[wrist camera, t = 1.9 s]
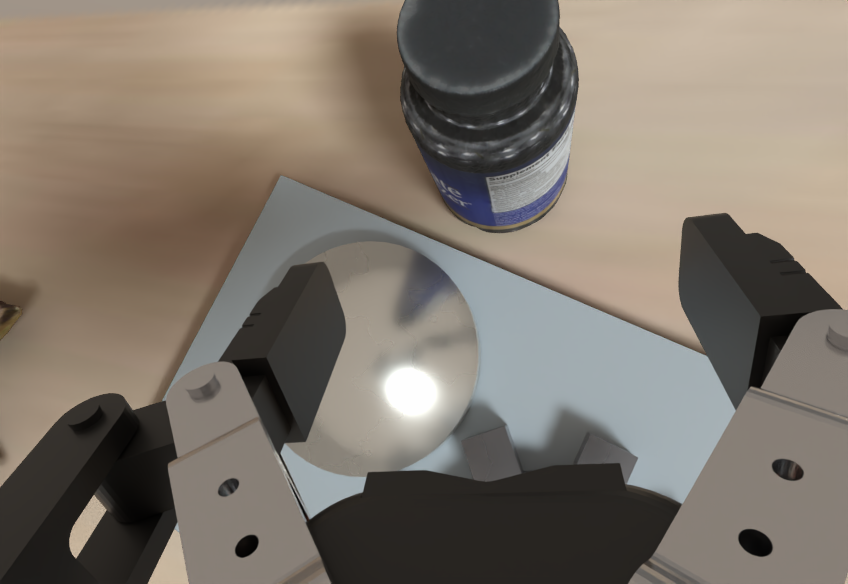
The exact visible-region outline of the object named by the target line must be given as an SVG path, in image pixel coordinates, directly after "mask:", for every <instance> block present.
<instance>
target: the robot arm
mask: <svg viewBox="0 0 848 584" xmlns="http://www.w3.org/2000/svg"><path fill="white" fill-rule="evenodd" d="M679 296H680V301H681V305H682V308H683V310H684V312H685V314H686V316H687V318H688V320H689V322H690V324H691V325H692V327H693V329H694V331H695V333H696V335H697V337H698V339H699V341H700V343H701V345H702V347H703V349H704V350H705V352H706V354H707V356H708V358H709V360H710V362H711V364H712V366H713V368H714V370H715V372H716V374H717V376H718V377H719V379H720V381H721V383H722V385H723V387H724V389H725V391H726V393H727V395H728V397H729V399H730V401H731V402H732V404H733V406H734V408H735V410H736V411H735V413H734V415H733V417H732V418H731V420H730V422H729V424H728V425H727V427H726V429H725V431H724V432H723V434H722V436H721V438H720V439H719V441H718V443H717V445H716V446H715V448H714V450H713V452H712V453H711V455H710V457H709V459H708V460H707V462H706V464H705V466H704V467H703V469H702V471H701V473H700V474H699V476H698V478H697V480H696V481H695V483H694V485H693V487H692V488H691V490H690V492H689V494H688V495H687V497H686V499H685V501H684V502H683V504H681V503H680V502H678V501H676V500H674V499H672V498H670V497H667V496H665V495H662V494H660V493H657V492H655V491H652V490H648V489H645V488H642V487H638V486H634V485H629V484H625V482H624V478H623V473H622V469H621V465H620V463H605V464H577V465H553V466H549V467H545V468H541V469H537V470H533V471H530V472H526V473H522V474H518V475H514V476H510V477H506V478H503V479H499V480H495V481H487V482H485V481H478V480H473V479H468V478H463V477H458V476H453V475H448V474H443V473H438V472H433V471H428V470H411V471H384V472H368V473H367V477H366V481H365V485H364V490H363V492H361V493H358V494H355V495H352V496H350V497H347V498H345V499H342V500H340V501H338V502H336V503H334V504H332V505H330V506H329V507H327V508H326V509H324V510H322V511H321V512H319V513H318V514H316V515H315V516H314V517H312V518H311V516H310V514H309V512H308V510H307V508H306V506H305V504H304V501H303V499H302V497H301V495H300V493H299V491H298V489H297V486H296V484H295V482H294V480H293V478H292V476H291V473H290V471H289V469H288V467H287V465H286V463H285V461H284V459H283V457H282V455H281V451H282V448H283V446H284V444H285V443H298V442H306V440H307V438H308V435H309V432H310V430H311V427H312V425H313V422H314V419H315V417H316V414H317V411H318V409H319V406H320V403H321V401H322V398H323V395H324V393H325V390H326V388H327V385H328V382H329V380H330V377H331V374H332V372H333V369H334V366H335V364H336V361H337V358H338V356H339V353H340V351H341V348H342V345H343V343H344V340H345V336H346V321H345V316H344V312H343V309H342V307H341V304H340V301H339V298H338V295H337V292H336V289H335V286H334V283H333V280H332V277H331V274H330V272H329V269H328V267H327V265H326V264H325V263H324V262H315V263H307V264H299V265H293V266H291V267H290V269H289V270H288V272H287V273H286V275H285V276H284V278H283V280H282V281H281V283H280V284H279V286H278V287H274V288H273V289H272V290H270V291H269V292H268V293H267V294H266V295H264V296H263V297H262V298H261V299H259V300H258V302H257V303H256V305H255V306H254V308H253V309H252V311H251V312H250V314H249V315H250V317H247V318H246V320H245V321H244V323H243V324H242V328H240V329H239V330H238V332H237V333H236V335H235V336H234V338H233V339H232V341H231V342H230V344H229V345H228V347H227V348H226V350H225V351H224V353H223V355H222V356H221V358H220V359H219V361H218V362H213V363H209V364H206V365H203V366H200V367H198V368H196V369H194V370H192V371H190V372H189V373H187V374H185V375H184V376H183V377H181V378H180V379H179V380H178V381H177V382H176V383H175V384H174V385H173V386H172V387H171V389H170V390H169V392H168V394H167V397H166V400H165V401H162V402H159V403H156V404H152V405H149V406H146V407H143V408H139V409H136V410H132V408H131V407H130V406H129V404H128V403H127V401H126V400H125V398H124V397H123V396H122V395H120V394H115V393H109V394H103V395H99V396H96V397H93V398H90V399H88V400H86V401H84V402H82V403H80V404H78V405H77V406H75V407H74V408H72V409H71V410H69V411H68V412H67V413H65V414H64V415H63V416H62V417H61V418H60V419H59V420H58V421H57V422H56V423H55V424H54V425H53V426H52V428H51V429H50V430H49V431H48V432H47V433H46V435H45V436H44V437H43V438H42V439H41V440H40V442H39V443H38V444H37V445H36V446H35V447H34V449H33V450H32V451H31V452H30V453H29V454H28V456H27V457H26V458H25V459H24V460H23V461H22V463H21V464H20V465H19V466H18V467H17V469H16V470H15V471H14V472H13V473H12V474H11V476H10V477H9V478H8V479H7V480H6V481H5V483H4V484H3V485H2V486H1V487H0V584H148V582H149V579H150V577H151V575H152V573H153V571H154V569H155V567H156V565H157V563H158V561H159V559H160V557H161V555H162V553H163V551H164V549H165V547H166V545H167V543H168V541H169V539H170V537H171V535H172V533H173V531H174V528H175V526H176V524H177V522H178V527H179V532H180V537H181V543H182V548H183V554H184V559H185V565H186V570H187V575H188V581H189V584H844V583H845V580H846V576H847V573H848V310H843V309H842V308H841V307H840V305H839V304H838V303H837V302H836V301H835V300H834V299H833V298H832V297H831V296H830V295H829V294H828V293H827V292H826V291H825V290H824V289H823V288H822V287H821V286H820V285H819V284H818V283H817V282H816V280H815V279H814V278H813V277H812V276H811V275H810V274H809V273H806V272H805V269H804V268H803V267H802V266H801V265H800V264H799V263H798V262H797V261H794V258H793V256H792V255H791V254H790V253H789V252H788V251H787V250H786V249H785V248H784V247H783V246H782V245H781V244H780V243H778V242H775V241H773V240H771V239H769V238H767V237H765V236H763V235H761V234H759V233H752V234H745V233H744V232H743V230H742V229H741V228H740V227H739V226H738V225H737V224H736V222H735V221H734V220H733V219H732V218H731V217H730V216H729V215H728V214H727V213H720V214H712V215H704V216H696V217H688V218H686V219H685V220H684V223H683V228H682V240H681V254H680V268H679ZM93 495H95V496H96V498H97V499H98V500H99V501H100V502H101V503H102V505H103V506H104V507H105V508H106V509H107V511H106V512H105V514H104V515H103V517H102V519H101V520H100V522H99V523H98V525H97V527H96V528H95V530H94V531H93V533H92V535H91V536H90V538H89V539H88V541H87V542H86V544H85V546H84V547H83V549H82V550H81V552H80V554H79V555H78V557H77V558H75V557H74V556H73V555H72V553H71V551H70V547H69V538H70V533H71V530H72V527H73V525H74V524H75V522H76V520H77V519H78V517H79V516H80V514H81V513H82V511H83V510H84V509H85V507H86V506H87V504H88V503H89V501H90V500H91V498H92V497H93Z"/></svg>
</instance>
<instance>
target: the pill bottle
mask: <svg viewBox="0 0 848 584" xmlns="http://www.w3.org/2000/svg"><path fill="white" fill-rule="evenodd" d="M559 19H560V12H559V3H558V0H405V2H404V4H403V7H402V9H401V11H400V15H399V19H398V25H397V42H398V47H399V52H400V55H401V58H402V61H403V63H404V71H403V73H402V80H401V87H400V89H401V92H400V93H401V96H400V99H401V100H400V101H401V104H402V109H403V113H404V116H405V120H406V123H407V125H408V127H409V130H410V131H411V133H412V136H413V137H414V139H415V142H416V144H417V146H418V148H419V150H420V152H421V154H422V156H423V158H424V160H425V162H426V164H427V167H428V169H429V171H430V173H431V175H432V177H433V179H434V181H435V183H436V185H437V187H438V189H439V191H440V193H441V195H442V197H443V199H444V201H445V203H446V205H447V206H448V208H449V209H450V210H451V212H452V213H453V214H454V215H455V216H456V217H457V218H458V219H459V220H461V221H462V222H464V223H466V224H468V225H471V226H476V227H477V228H479V229H481V230H483V231H486V232H491V233H506V232H513V231H517V230H520V229H522V228H525V227H527V226H529V225H531V224H533V223H535V222H537V221H538V220H540V219H541V218H543V217H544V216H545V215H546V214H547V213H548V212H549V211H550V210H551V209H552V208H553V207H554V205H555V204H556V203H557V201H558V199H559V197H560V195H561V193H562V190H563V188H564V186H565V184H566V180H567V170H568V162H569V155H570V147H571V139H572V131H573V122H574V114H575V106H576V100H577V93H578V81H579V78H578V66H577V60H576V57H575V53H574V50H573V47H572V46H571V44H570V42H569V40H568V39H567V36H566V34H565V33H564V32H563V30H562V29H561V28H560V27H559Z"/></svg>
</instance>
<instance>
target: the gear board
mask: <svg viewBox="0 0 848 584" xmlns="http://www.w3.org/2000/svg"><path fill="white" fill-rule="evenodd" d="M366 241H376V242H387V243H392V244H397V245H401V246H403V247H406V248H409V249H412V250H414V251H416V252H418V253H420V254H422V255H423V256H425V257H427V258H428V259H430V260H431V261H432V262H434V263H435V264H437V265H438V266H439V267H440V268H441V269H442V270H443V271H444V272H445V273H446V274H447V275H448V276H449V277H450V278H451V280H452V281H453V282H454V283H455V284H456V286H457V287H458V288H459V290H460V291H461V292H462V294H463V296H464V297H465V299H466V301H467V302H468V304H469V306H470V308H471V311H472V313H473V315H474V317H475V321H476V324H477V328H478V331H479V337H480V344H481V369H480V377H479V382H478V386H477V390H476V393H475V396H474V399H473V401H472V404H471V406H470V408H469V410H468V412H467V414H466V416H465V417H464V419H463V421H462V422H461V424H460V425H459V427H458V428H457V429H456V431H455V432H454V433H453V434H452V435H451V437H450V438H449V439H448V440H447V441H446V442H445V443H444V444H443V445H442V446H440V447H439V448H438V449H437V450H435V451H434V452H433V453H431V454H430V455H428V456H427V457H425V458H423V459H422V460H420V461H418V462H416V463H414V464H412V465H410V466H408V467H406V468H403V469H401V470H398V471H411V470H428V471H433V472H438V473H443V474H448V475H453V476H458V477H463V478H468V479H473V476H472V473H471V470H470V467H469V464H468V461H467V457H466V454H465V451H464V448H463V445H462V442H461V441H462V440H463V439H465V438H468V437H471V436H474V435H477V434H480V433H483V432H486V431H489V430H492V429H495V428H498V427H501V426H504V425H508V428H509V431H510V434H511V436H512V439H513V442H514V445H515V448H516V451H517V453H518V456H519V459H520V462H521V465H522V467H523V470H524V471H528V470H537V469H541V468H545V467H549V466H553V465H572V464H573V462H574V460H575V458H576V455H577V453H578V451H579V449H580V446H581V444H582V442H583V440H584V438H585V435H586V433H587V432H589V433H591V434H593V435H595V436H597V437H599V438H601V439H603V440H605V441H607V442H610V443H612V444H614V445H616V446H618V447H620V448H622V449H624V450H626V451H628V452H630V453H632V454H633V455H635V456H637V457H638V460H637V462H636V464H635V467H634V469H633V471H632V473H631V476H630V478H629V480H628V483H627V484H629V485H634V486H638V487H642V488H645V489H648V490H652V491H655V492H657V493H660V494H662V495H665V496H667V497H670V498H672V499H674V500H676V501H678V502H680V503H681V504H683V502H684V501H685V499H686V497H687V495H688V494H689V492H690V490H691V488H692V487H693V485H694V483H695V481H696V480H697V478H698V476H699V474H700V473H701V471H702V469H703V467H704V466H705V464H706V462H707V460H708V459H709V457H710V455H711V453H712V452H713V450H714V448H715V446H716V445H717V443H718V441H719V439H720V438H721V436H722V434H723V432H724V431H725V429H726V427H727V425H728V424H729V422H730V420H731V418H732V417H733V415H734V413H735V411H736V410H735V408H734V406H733V404H732V402H731V401H730V399H729V397H728V395H727V393H726V391H725V389H724V387H723V385H722V383H721V381H720V379H719V377H718V376H717V374H716V372H715V370H714V368H713V366H712V364H711V362H710V360H709V358H708V356H706V355H703V354H701V353H698V352H696V351H694V350H691V349H689V348H687V347H684V346H682V345H680V344H677V343H675V342H673V341H670V340H668V339H666V338H663V337H661V336H659V335H656V334H654V333H651V332H649V331H647V330H644V329H642V328H640V327H637V326H635V325H633V324H630V323H628V322H626V321H623V320H621V319H619V318H616V317H614V316H612V315H609V314H607V313H604V312H602V311H600V310H597V309H595V308H593V307H590V306H588V305H586V304H583V303H581V302H579V301H576V300H574V299H572V298H569V297H567V296H564V295H562V294H560V293H557V292H555V291H553V290H550V289H548V288H546V287H543V286H541V285H539V284H536V283H534V282H532V281H529V280H527V279H525V278H522V277H520V276H517V275H515V274H513V273H510V272H508V271H506V270H503V269H501V268H499V267H496V266H494V265H492V264H489V263H487V262H485V261H482V260H480V259H478V258H475V257H473V256H470V255H468V254H466V253H463V252H461V251H459V250H456V249H454V248H452V247H449V246H447V245H445V244H442V243H440V242H438V241H435V240H433V239H430V238H428V237H426V236H423V235H421V234H419V233H416V232H414V231H412V230H409V229H407V228H405V227H402V226H400V225H398V224H395V223H393V222H391V221H388V220H386V219H383V218H381V217H379V216H376V215H374V214H372V213H369V212H367V211H365V210H362V209H360V208H358V207H355V206H353V205H351V204H348V203H346V202H344V201H341V200H339V199H336V198H334V197H332V196H329V195H327V194H325V193H322V192H320V191H318V190H315V189H313V188H311V187H308V186H306V185H304V184H301V183H299V182H297V181H294V180H292V179H289V178H287V177H285V176H282V175H281V176H280V178H279V180H278V182H277V184H276V186H275V187H274V189H273V191H272V193H271V195H270V197H269V199H268V201H267V203H266V204H265V206H264V208H263V210H262V212H261V214H260V216H259V218H258V220H257V222H256V223H255V225H254V227H253V229H252V231H251V233H250V235H249V237H248V239H247V241H246V242H245V244H244V246H243V248H242V250H241V252H240V254H239V256H238V258H237V259H236V261H235V263H234V265H233V267H232V269H231V271H230V273H229V275H228V277H227V278H226V280H225V282H224V284H223V286H222V288H221V290H220V292H219V294H218V296H217V297H216V299H215V301H214V303H213V305H212V307H211V309H210V311H209V313H208V314H207V316H206V318H205V320H204V322H203V324H202V326H201V328H200V330H199V332H198V333H197V335H196V337H195V339H194V341H193V343H192V345H191V347H190V349H189V350H188V352H187V354H186V356H185V358H184V360H183V362H182V364H181V366H180V368H179V369H178V371H177V373H176V375H175V377H174V379H173V381H172V383H171V385H170V387H169V388H168V390H167V392H166V394H165V396H164V398H163V400H162V401H165V400H166V397H167V394H168V392H169V390H170V389H171V387H172V386H173V385H174V384H175V383H176V382H177V381H178V380H179V379H180V378H181V377H183V376H184V375H185V374H187V373H189V372H190V371H192V370H194V369H196V368H198V367H200V366H203V365H206V364H209V363H213V362H218V361H219V359H220V358H221V356H222V355H223V353H224V351H225V350H226V348H227V347H228V345H229V344H230V342H231V341H232V339H233V338H234V336H235V335H236V333H237V332H238V330H239V329H240V328H242V324H243V323H244V321H245V320H246V318H247V317H250V315H249V314H250V312H251V311H252V309H253V308H254V306H255V305H256V303H257V302H258V300H259V299H261V298H262V297H263V296H264V295H266V294H267V293H268V292H269V291H270V290H272V289H273V288H274V287H278V286H279V284H280V283H281V281H282V280H283V278H284V276H285V275H286V273H287V272H288V270H289V269H290V267H291V266H293V265H299V264H305V263H306V262H308V261H309V260H311V259H312V258H314V257H316V256H317V255H319V254H321V253H323V252H325V251H327V250H330V249H332V248H335V247H338V246H341V245H345V244H350V243H355V242H366ZM281 455H282V457H283V459H284V461H285V463H286V465H287V467H288V469H289V471H290V473H291V476H292V478H293V480H294V482H295V484H296V486H297V489H298V491H299V493H300V495H301V497H302V499H303V501H304V504H305V506H306V508H307V510H308V512H309V514H310V516H311V518H312V517H314V516H315V515H316V514H318V513H319V512H321V511H322V510H324V509H326V508H327V507H329V506H330V505H332V504H334V503H336V502H338V501H340V500H342V499H345V498H347V497H350V496H352V495H355V494H358V493H361V492H363V490H364V485H365V481H366V477H351V476H345V475H339V474H334V473H331V472H329V471H326V470H323V469H320V468H318V467H316V466H314V465H312V464H310V463H308V462H307V461H305V460H304V459H303V458H301V457H300V456H298V455H297V454H295V453H294V452H293V451H292V450H291V449H290V448H289V447H288V446H287V445H286V444H284V446H283V448H282V451H281ZM473 480H474V479H473ZM174 529H175V530H177V531H178V532H179V527H178V522H177V524H176V526H175V528H174ZM179 533H180V532H179Z"/></svg>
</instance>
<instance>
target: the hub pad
mask: <svg viewBox="0 0 848 584" xmlns="http://www.w3.org/2000/svg"><path fill="white" fill-rule="evenodd" d="M315 262H324V263H325V264H326V265H327V267H328V269H329V272H330V274H331V277H332V280H333V283H334V286H335V289H336V292H337V295H338V298H339V301H340V304H341V307H342V309H343V312H344V316H345V321H346V336H345V340H344V343H343V345H342V348H341V351H340V353H339V356H338V358H337V361H336V364H335V366H334V369H333V372H332V374H331V377H330V380H329V382H328V385H327V388H326V390H325V393H324V395H323V398H322V401H321V403H320V406H319V409H318V411H317V414H316V417H315V419H314V422H313V425H312V427H311V430H310V432H309V435H308V438H307V440H306V442H298V443H285V444H286V445H287V446H288V447H289V448H290V449H291V450H292V451H293V452H294V453H295V454H297V455H298V456H300V457H301V458H303V459H304V460H305V461H307V462H308V463H310V464H312V465H314V466H316V467H318V468H320V469H323V470H326V471H329V472H331V473H334V474H339V475H345V476H351V477H367V473H368V472H384V471H398V470H401V469H403V468H406V467H408V466H410V465H412V464H414V463H416V462H418V461H420V460H422V459H423V458H425V457H427V456H428V455H430V454H431V453H433V452H434V451H435V450H437V449H438V448H439V447H440V446H442V445H443V444H444V443H445V442H446V441H447V440H448V439H449V438H450V437H451V435H452V434H453V433H454V432H455V431H456V429H457V428H458V427H459V425H460V424H461V422H462V421H463V419H464V417H465V416H466V414H467V412H468V410H469V408H470V406H471V404H472V401H473V399H474V396H475V393H476V390H477V386H478V382H479V377H480V369H481V344H480V337H479V331H478V328H477V324H476V321H475V317H474V315H473V313H472V311H471V308H470V306H469V304H468V302H467V301H466V299H465V297H464V296H463V294H462V292H461V291H460V290H459V288H458V287H457V286H456V284H455V283H454V282H453V281H452V280H451V278H450V277H449V276H448V275H447V274H446V273H445V272H444V271H443V270H442V269H441V268H440V267H439V266H438V265H437V264H435V263H434V262H432V261H431V260H430V259H428V258H427V257H425V256H423V255H422V254H420V253H418V252H416V251H414V250H412V249H409V248H406V247H403V246H401V245H397V244H392V243H387V242H376V241H366V242H355V243H350V244H345V245H341V246H338V247H335V248H332V249H330V250H327V251H325V252H323V253H321V254H319V255H317V256H316V257H314V258H312V259H311V260H309V261H308V262H306V263H305V264H307V263H315Z"/></svg>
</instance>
